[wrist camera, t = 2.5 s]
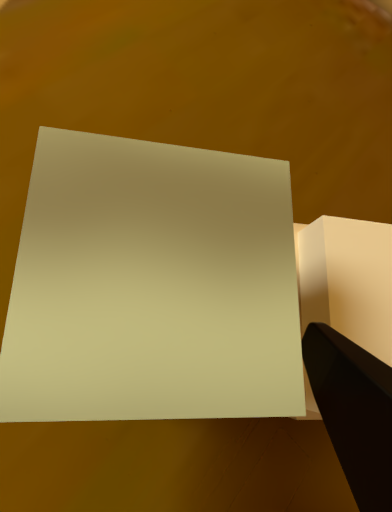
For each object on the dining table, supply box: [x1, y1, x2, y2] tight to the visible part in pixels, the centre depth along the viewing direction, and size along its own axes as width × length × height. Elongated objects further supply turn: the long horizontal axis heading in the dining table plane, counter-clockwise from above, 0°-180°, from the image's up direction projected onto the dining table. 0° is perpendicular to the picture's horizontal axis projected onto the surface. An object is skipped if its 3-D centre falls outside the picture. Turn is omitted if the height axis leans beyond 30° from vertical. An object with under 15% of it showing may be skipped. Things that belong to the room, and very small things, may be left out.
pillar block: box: [0, 126, 306, 422], centre depth 12 cm, size 6×6×11 cm
